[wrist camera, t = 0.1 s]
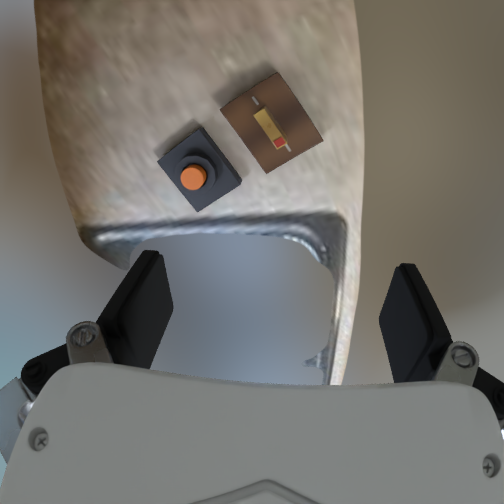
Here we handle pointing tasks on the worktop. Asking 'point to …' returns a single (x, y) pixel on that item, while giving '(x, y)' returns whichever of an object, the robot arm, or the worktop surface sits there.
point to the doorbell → (210, 159)
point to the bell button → (193, 177)
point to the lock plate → (286, 114)
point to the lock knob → (271, 127)
